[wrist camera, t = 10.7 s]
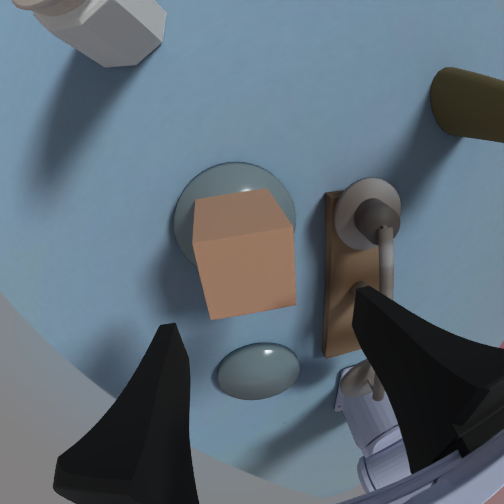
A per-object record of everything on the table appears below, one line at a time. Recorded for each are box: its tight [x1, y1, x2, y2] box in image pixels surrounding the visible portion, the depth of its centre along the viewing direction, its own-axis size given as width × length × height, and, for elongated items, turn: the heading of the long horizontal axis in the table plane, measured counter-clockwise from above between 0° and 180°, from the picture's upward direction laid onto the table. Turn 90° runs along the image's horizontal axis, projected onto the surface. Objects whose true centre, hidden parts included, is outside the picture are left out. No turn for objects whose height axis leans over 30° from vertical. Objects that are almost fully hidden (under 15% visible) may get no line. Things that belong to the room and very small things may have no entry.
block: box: [192, 188, 296, 320], centre depth 17 cm, size 4×4×6 cm
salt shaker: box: [12, 0, 167, 68], centre depth 8 cm, size 5×5×11 cm
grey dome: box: [174, 162, 296, 268], centre depth 20 cm, size 8×8×1 cm
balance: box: [322, 177, 401, 401], centre depth 21 cm, size 19×5×8 cm, turn 6°
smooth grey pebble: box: [218, 343, 300, 400], centre depth 28 cm, size 8×8×1 cm
